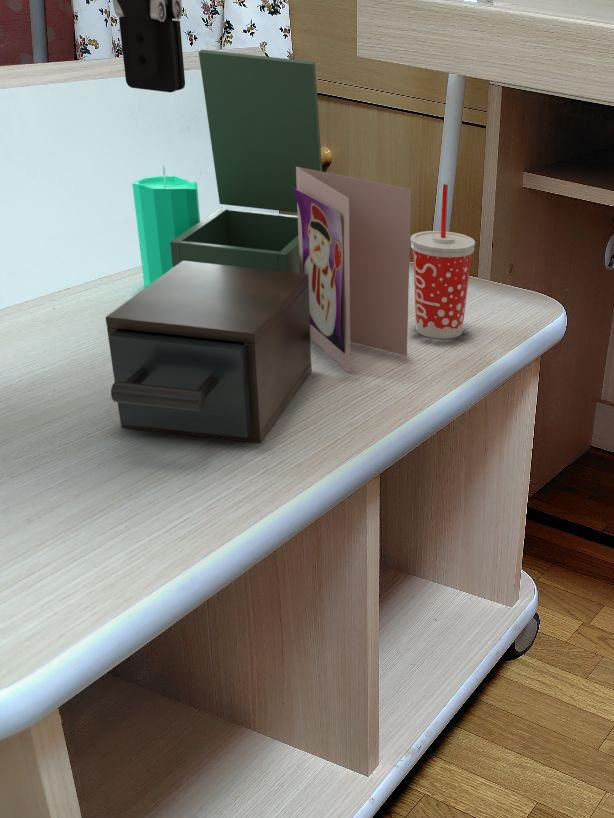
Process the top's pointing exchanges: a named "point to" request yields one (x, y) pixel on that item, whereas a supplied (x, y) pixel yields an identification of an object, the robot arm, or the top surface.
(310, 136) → the chest lid
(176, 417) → the drawer
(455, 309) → the beverage cup
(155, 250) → the candle
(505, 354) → the top surface
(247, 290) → the cabinet
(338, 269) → the greeting card
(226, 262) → the chest
